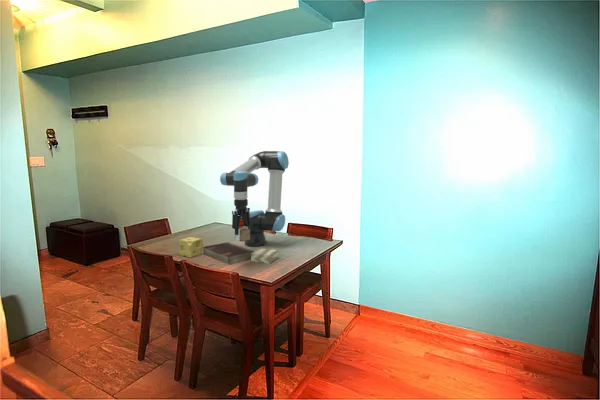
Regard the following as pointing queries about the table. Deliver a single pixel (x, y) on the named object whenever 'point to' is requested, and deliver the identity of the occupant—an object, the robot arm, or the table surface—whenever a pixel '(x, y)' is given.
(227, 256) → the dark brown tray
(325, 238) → the table surface
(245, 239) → the walnut cube
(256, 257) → the birch block
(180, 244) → the cheese
